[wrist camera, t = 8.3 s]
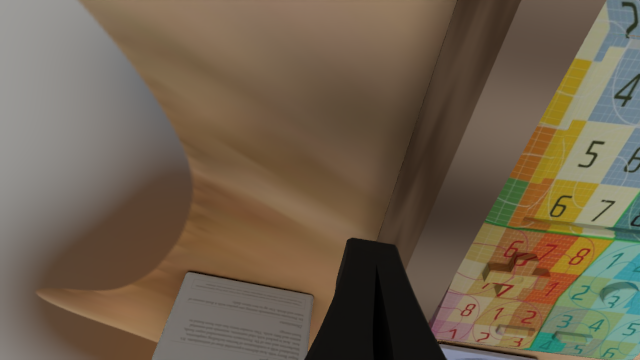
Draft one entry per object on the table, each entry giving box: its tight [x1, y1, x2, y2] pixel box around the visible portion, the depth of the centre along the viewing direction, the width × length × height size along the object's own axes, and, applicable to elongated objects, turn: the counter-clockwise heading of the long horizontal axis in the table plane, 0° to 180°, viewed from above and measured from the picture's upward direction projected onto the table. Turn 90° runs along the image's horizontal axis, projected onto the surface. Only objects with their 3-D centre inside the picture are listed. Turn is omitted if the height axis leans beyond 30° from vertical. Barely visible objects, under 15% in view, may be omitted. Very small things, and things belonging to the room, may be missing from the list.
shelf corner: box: [377, 0, 606, 323], centre depth 17 cm, size 25×12×7 cm, turn 172°
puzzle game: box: [428, 0, 640, 360], centre depth 19 cm, size 12×5×20 cm
